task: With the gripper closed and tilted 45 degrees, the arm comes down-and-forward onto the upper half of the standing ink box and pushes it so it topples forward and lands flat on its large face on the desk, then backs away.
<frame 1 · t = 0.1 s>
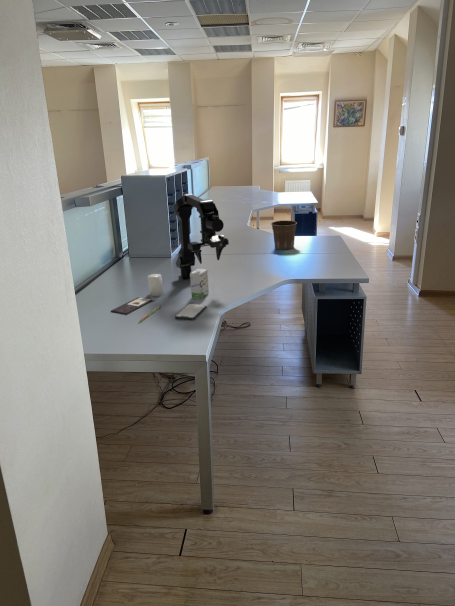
hand: (209, 261, 208), 15 cm above the table, tool pointing down, fingers open, 9 cm apart
ink box: (200, 295, 208), on the table
smartphone: (191, 314, 189), on the table
pencil: (149, 316, 188), on the table
plant pot: (284, 248, 287), on the table
chocolate bar: (132, 307, 199), on the table
white rounded cylinder: (156, 293, 213), on the table
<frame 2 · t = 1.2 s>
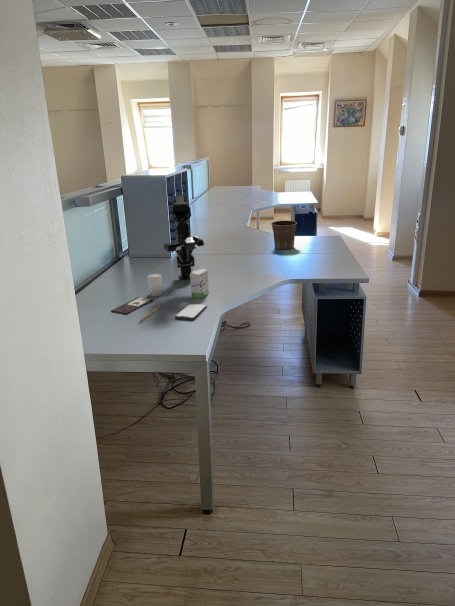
hand: (185, 262, 215), 13 cm above the table, tool pointing down, fingers open, 3 cm apart
nothing on the table moved.
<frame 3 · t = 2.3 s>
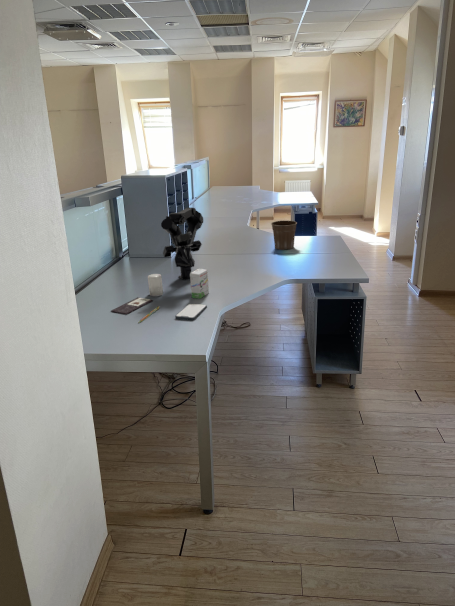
hand: (188, 263, 212), 13 cm above the table, tool tilted 45°, fingers closed
nothing on the table moved.
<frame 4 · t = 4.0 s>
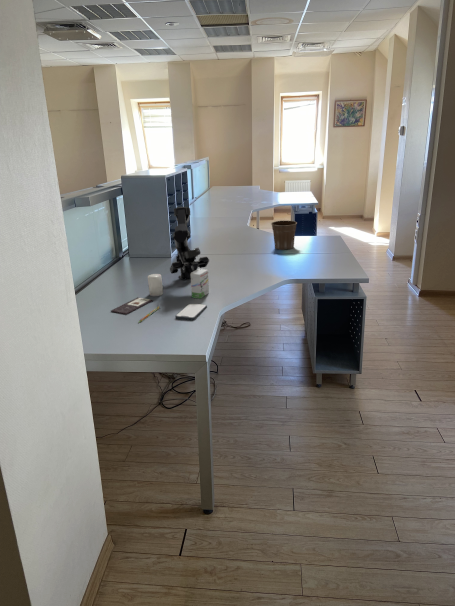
hand: (196, 279, 208), 7 cm above the table, tool tilted 45°, fingers closed
ink box: (200, 295, 208), on the table, touching gripper
everything else where it was.
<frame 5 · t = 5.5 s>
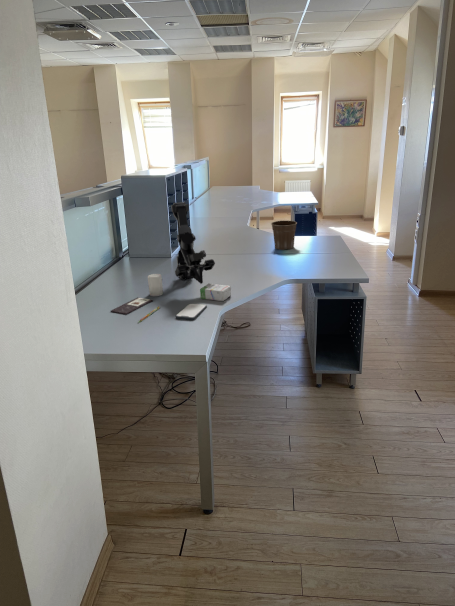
hand: (201, 283, 204), 7 cm above the table, tool tilted 45°, fingers closed
ink box: (204, 290, 207), point 2 cm above the table
everything else where it was.
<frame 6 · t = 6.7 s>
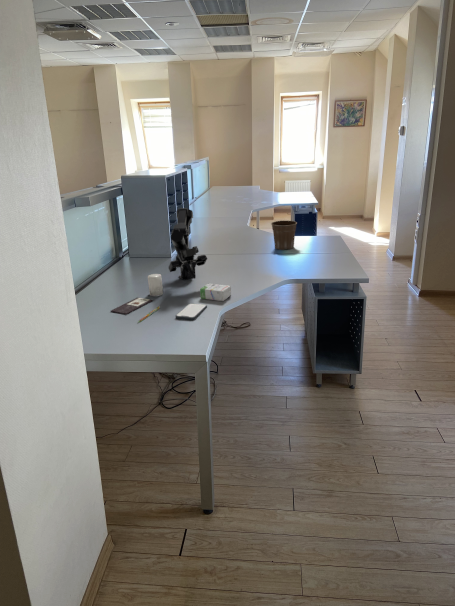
hand: (194, 278, 211), 7 cm above the table, tool tilted 45°, fingers closed
nothing on the table moved.
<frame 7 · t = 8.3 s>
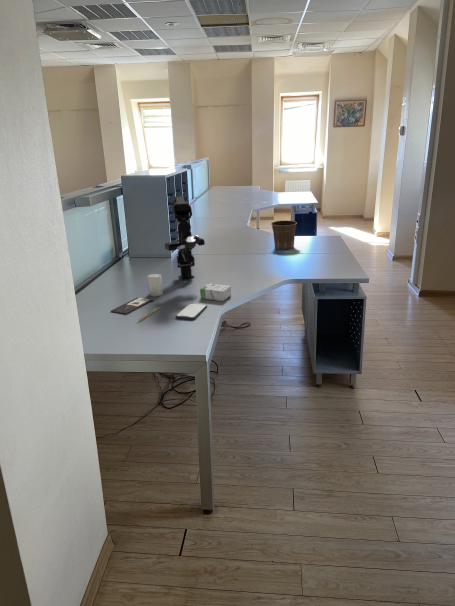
hand: (186, 261, 217), 13 cm above the table, tool pointing down, fingers closed
nothing on the table moved.
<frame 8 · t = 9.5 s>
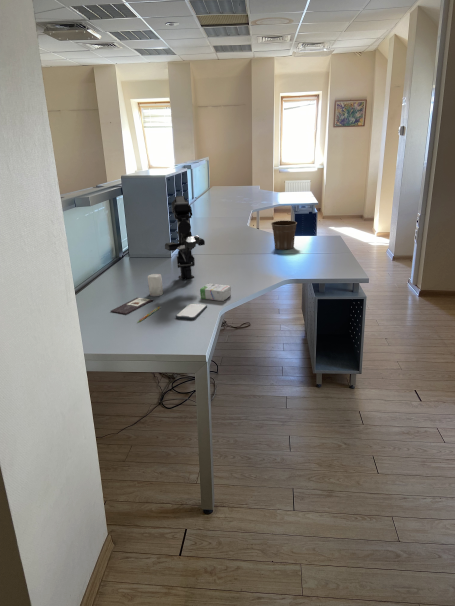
hand: (186, 261, 217), 13 cm above the table, tool pointing down, fingers closed
nothing on the table moved.
at the end: ink box tilted 90°; ink box inside the target area (7.8 cm from its centre), point 2.5 cm above the table; the gripper is holding nothing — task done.
